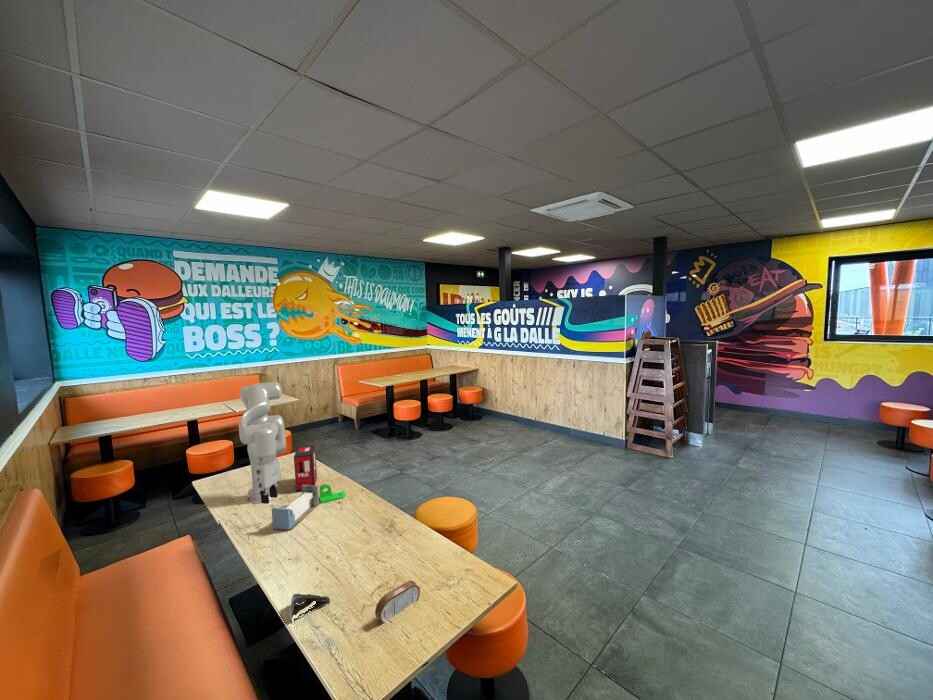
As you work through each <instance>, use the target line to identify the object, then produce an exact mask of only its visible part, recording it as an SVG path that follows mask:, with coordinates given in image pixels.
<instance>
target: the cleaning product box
mask: <svg viewBox="0 0 933 700" xmlns="http://www.w3.org/2000/svg"><path fill="white" fill-rule="evenodd" d="M293 464H294V476H295V477H294V479H295V491H296V492H295V493H301V492H302V485H316V484H317V480H318V473H317V472H318V471H317V458H316V444H314V443H313V444H308V445H307V444H305V445H298V446H297V447H296V451H295V452H294V456H293ZM302 493H303V492H302Z"/></svg>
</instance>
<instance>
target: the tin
mask: <svg viewBox="0 0 933 700" xmlns="http://www.w3.org/2000/svg"><path fill="white" fill-rule="evenodd" d="M420 593H421V589H420V587H419V585H418V584H417V583H416V582H415V581H414V580H408V581H405V582H403V583H402V584H401V585H399V586H396V587H395V588H394V589H392V590H390V591H388V592H387V593H385V594H384V595H383V596H382V597H381V598H380V599H379V601H378V603H377V604H376V607H375V609H374V610H375V611H374V614H375V617H376V619H378V621H380V623H381V624H385V623H386V622H387V621H389V620H390V619H391V618H394V617H395V616H396V615H398V614H400V613H401V612H403V611H404V610H405V609H407V608H409V607H410V606H412V605H413V604H414V603H416V602H418V601H419V599H420ZM399 612H400V613H399Z"/></svg>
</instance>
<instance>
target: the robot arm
mask: <svg viewBox="0 0 933 700" xmlns="http://www.w3.org/2000/svg"><path fill="white" fill-rule="evenodd" d="M282 391H283V390H282V387H281V384H280V383H279V382H278V381H270V382H269V381H268V382H262V383H261V382H259V383H253V384H251V385H245V386H242V387H241V388H240V390H239V397H240V400H241V402H242V404H243V405H244V408H246V411H245V412H244V413H243V414H242V416H241V417H240V419H239V421H238V433H239V439H240V442H241V443H242V444H243V445H247V449H246V450H247V454H248V457H249V461H250V469H251V470H250V472H251V483H252V488H250V489H248V492H247V495H248V496H251V497H250V499H249V500H250V503H251V504H255V505H258V504H259V505H260V504H265V505H266V504H267V505H268V504H270V502H272V501H273V500H275V499H276V498H278V495H279V494H278V493H279V492H278V487H279V482H280V480H281V479H282V472H281V471H282V469H281V465H280V461H279V459H278V457H277V455H282V454H283V453H285V452H286V449H287V441H286V440H287V439H286V429H285V428H286V427H285V423H284V422H285V421H284V419H283V417H282V416H281V414H280V415H279V414H275V415H268V414H269V412H270V410H271V404H270V401H273V400H280V399H281V397H282V393H283V392H282Z"/></svg>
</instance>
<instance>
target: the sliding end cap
mask: <svg viewBox="0 0 933 700" xmlns="http://www.w3.org/2000/svg"><path fill="white" fill-rule="evenodd" d="M271 518H272V529H273V528H277V529H276V530H279V529H288V530H287V531H291V530H290V529H291V528H292V527H293V526H294V525H295V514H292V515H291V516H290V510H289V509H286V507H285V508H283V507H272V508H271Z"/></svg>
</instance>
